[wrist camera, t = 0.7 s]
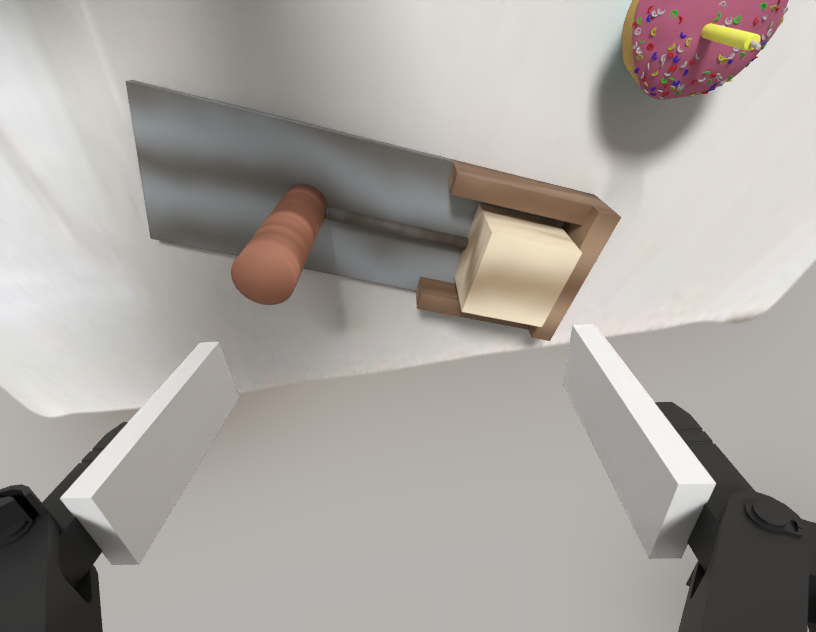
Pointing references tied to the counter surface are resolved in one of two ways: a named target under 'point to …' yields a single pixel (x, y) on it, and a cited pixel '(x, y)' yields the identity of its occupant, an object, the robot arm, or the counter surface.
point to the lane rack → (337, 195)
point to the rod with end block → (482, 249)
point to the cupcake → (695, 42)
